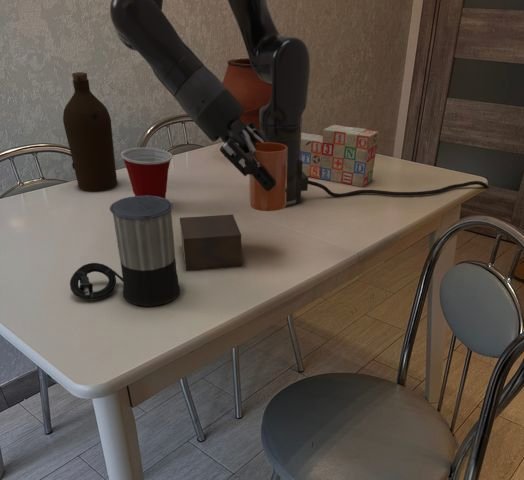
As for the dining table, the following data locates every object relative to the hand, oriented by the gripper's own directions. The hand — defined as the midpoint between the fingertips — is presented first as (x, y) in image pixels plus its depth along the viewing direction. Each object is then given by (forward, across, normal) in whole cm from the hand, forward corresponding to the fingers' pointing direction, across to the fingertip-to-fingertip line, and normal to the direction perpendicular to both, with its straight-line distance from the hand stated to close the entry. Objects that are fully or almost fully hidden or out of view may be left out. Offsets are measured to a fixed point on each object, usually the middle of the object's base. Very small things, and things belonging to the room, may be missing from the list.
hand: (277, 181), depth 93 cm
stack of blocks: (+12, +50, +8) cm, 52 cm away
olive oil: (-27, +27, +46) cm, 60 cm away
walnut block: (+2, -5, +18) cm, 18 cm away
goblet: (-5, +63, +25) cm, 68 cm away
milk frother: (-5, -22, +24) cm, 32 cm away
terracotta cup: (+2, 0, +4) cm, 5 cm away
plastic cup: (-13, +16, +32) cm, 39 cm away
